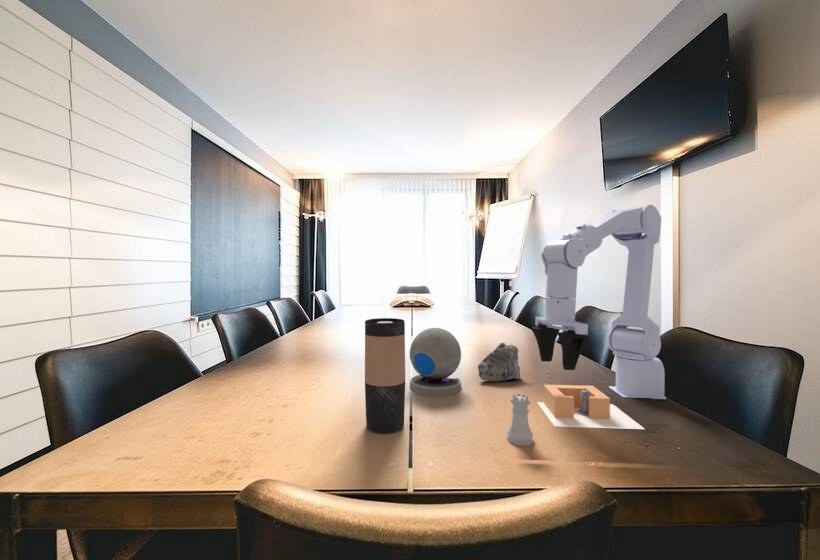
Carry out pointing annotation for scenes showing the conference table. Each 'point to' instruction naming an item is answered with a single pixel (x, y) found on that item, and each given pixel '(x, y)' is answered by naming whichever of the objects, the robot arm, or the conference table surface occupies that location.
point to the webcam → (435, 362)
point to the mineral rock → (500, 364)
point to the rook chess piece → (520, 422)
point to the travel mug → (385, 374)
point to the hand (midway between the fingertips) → (557, 365)
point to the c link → (575, 401)
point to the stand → (583, 420)
